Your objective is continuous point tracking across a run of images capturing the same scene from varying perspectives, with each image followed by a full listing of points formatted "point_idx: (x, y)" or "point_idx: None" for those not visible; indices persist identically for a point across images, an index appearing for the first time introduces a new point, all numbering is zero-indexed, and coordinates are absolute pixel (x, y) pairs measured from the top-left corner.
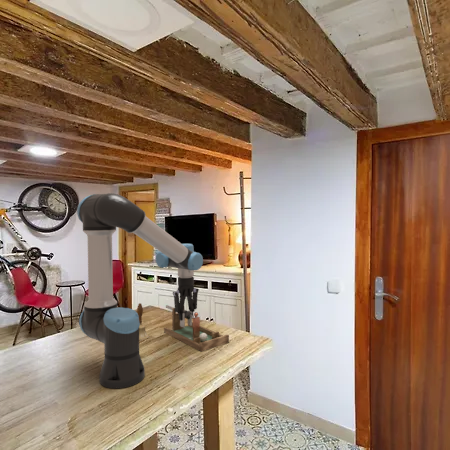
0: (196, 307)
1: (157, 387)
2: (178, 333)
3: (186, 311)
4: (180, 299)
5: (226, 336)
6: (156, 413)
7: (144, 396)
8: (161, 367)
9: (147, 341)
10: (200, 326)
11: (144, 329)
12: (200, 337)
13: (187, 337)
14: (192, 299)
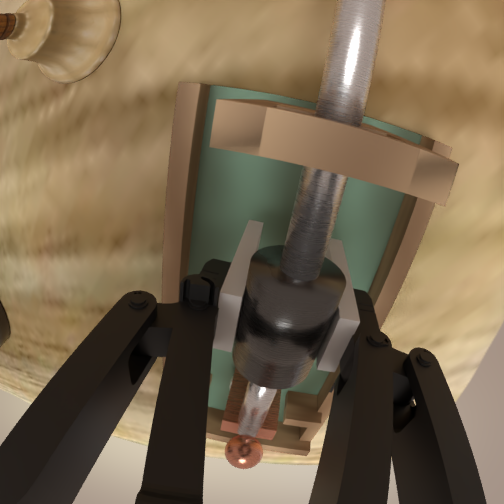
0: (403, 406)
1: (28, 375)
2: (244, 192)
3: (264, 364)
4: (147, 474)
5: (293, 452)
6: (23, 400)
7: (10, 370)
8: (45, 342)
9: (69, 116)
10: (389, 293)
11: (50, 51)
12: (229, 386)
13: None
14: (438, 458)
